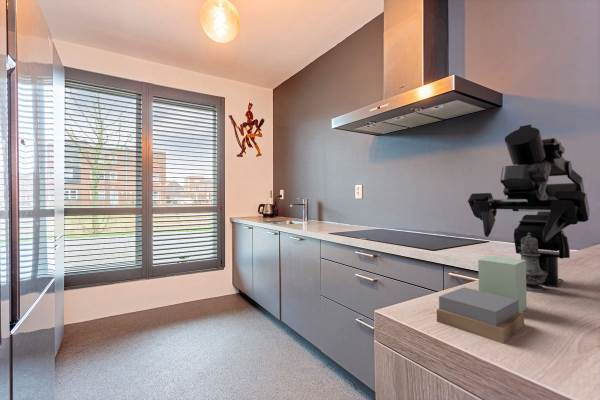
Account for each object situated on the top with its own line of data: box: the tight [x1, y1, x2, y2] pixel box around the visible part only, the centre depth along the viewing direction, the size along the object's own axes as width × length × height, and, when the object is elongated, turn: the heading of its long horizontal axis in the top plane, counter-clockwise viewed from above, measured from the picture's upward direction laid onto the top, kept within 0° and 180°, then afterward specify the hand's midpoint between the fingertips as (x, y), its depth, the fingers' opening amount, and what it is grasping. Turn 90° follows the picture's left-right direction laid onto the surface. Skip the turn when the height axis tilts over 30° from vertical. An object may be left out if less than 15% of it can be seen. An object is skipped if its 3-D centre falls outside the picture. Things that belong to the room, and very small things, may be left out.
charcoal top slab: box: [438, 286, 519, 326], centre depth 45 cm, size 8×8×2 cm
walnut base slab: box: [436, 308, 525, 344], centre depth 44 cm, size 9×9×2 cm
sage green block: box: [477, 255, 527, 312], centre depth 51 cm, size 6×6×8 cm
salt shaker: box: [519, 232, 548, 293], centre depth 61 cm, size 6×6×12 cm
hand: (513, 237), depth 54 cm, fingers open, 9 cm apart
